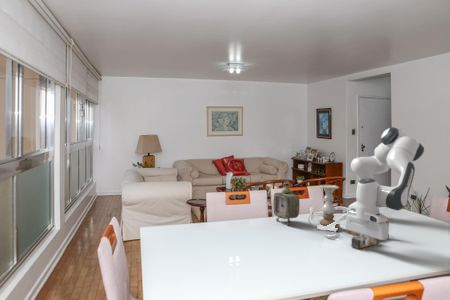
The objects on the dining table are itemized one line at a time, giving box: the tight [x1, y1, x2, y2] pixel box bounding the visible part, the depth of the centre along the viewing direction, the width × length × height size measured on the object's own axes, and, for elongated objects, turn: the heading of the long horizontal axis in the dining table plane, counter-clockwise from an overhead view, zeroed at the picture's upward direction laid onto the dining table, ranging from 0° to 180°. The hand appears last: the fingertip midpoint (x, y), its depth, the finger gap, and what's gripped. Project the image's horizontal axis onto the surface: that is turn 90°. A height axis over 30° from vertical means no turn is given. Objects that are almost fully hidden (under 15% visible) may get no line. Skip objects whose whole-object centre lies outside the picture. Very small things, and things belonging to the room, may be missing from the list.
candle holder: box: [319, 184, 341, 229], centre depth 183 cm, size 11×11×24 cm
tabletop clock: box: [273, 180, 300, 226], centre depth 193 cm, size 14×9×25 cm, turn 25°
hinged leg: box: [350, 236, 380, 250], centre depth 155 cm, size 15×4×4 cm, turn 120°
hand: (365, 244), depth 150 cm, fingers closed
